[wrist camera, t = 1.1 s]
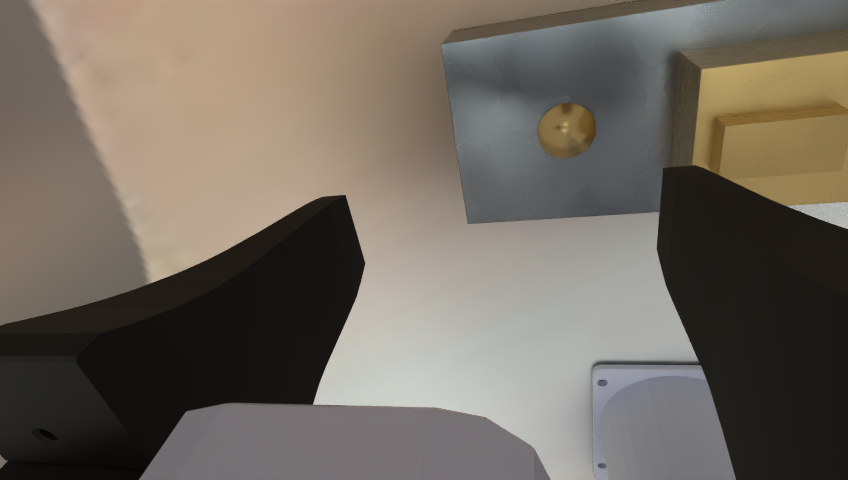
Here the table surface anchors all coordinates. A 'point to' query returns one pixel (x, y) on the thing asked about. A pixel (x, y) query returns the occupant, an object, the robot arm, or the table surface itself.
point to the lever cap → (768, 115)
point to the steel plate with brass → (590, 99)
